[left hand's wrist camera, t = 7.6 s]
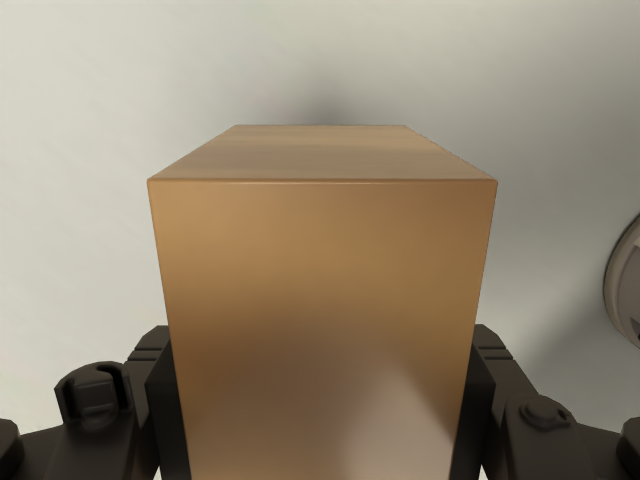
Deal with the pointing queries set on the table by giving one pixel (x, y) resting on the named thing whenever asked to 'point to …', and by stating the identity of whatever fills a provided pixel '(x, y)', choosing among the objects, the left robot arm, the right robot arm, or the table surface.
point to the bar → (321, 299)
